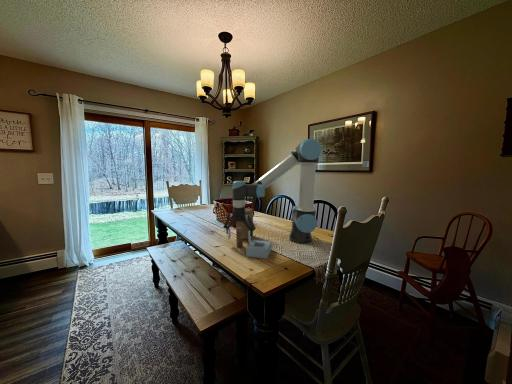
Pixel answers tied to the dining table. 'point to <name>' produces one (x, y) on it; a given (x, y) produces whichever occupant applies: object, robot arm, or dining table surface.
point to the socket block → (258, 249)
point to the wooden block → (245, 229)
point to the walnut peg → (239, 237)
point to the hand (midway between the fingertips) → (239, 240)
